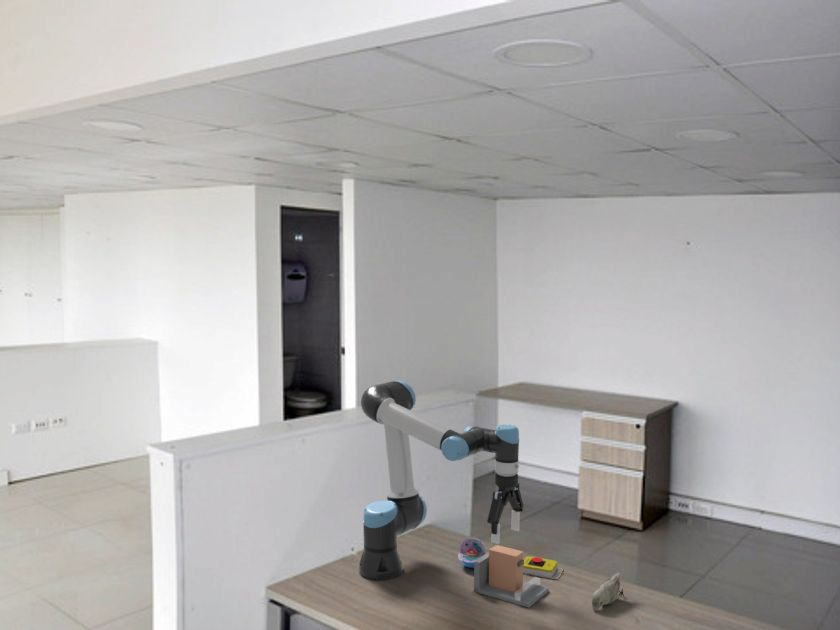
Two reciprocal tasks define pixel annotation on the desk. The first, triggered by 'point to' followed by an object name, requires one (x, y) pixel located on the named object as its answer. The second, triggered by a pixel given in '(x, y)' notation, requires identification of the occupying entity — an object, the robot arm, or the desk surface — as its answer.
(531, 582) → the strip
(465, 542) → the cell model
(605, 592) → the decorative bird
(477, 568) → the gray bracket stand
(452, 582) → the desk surface
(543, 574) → the emergency button
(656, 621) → the desk surface
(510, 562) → the cabinet block
